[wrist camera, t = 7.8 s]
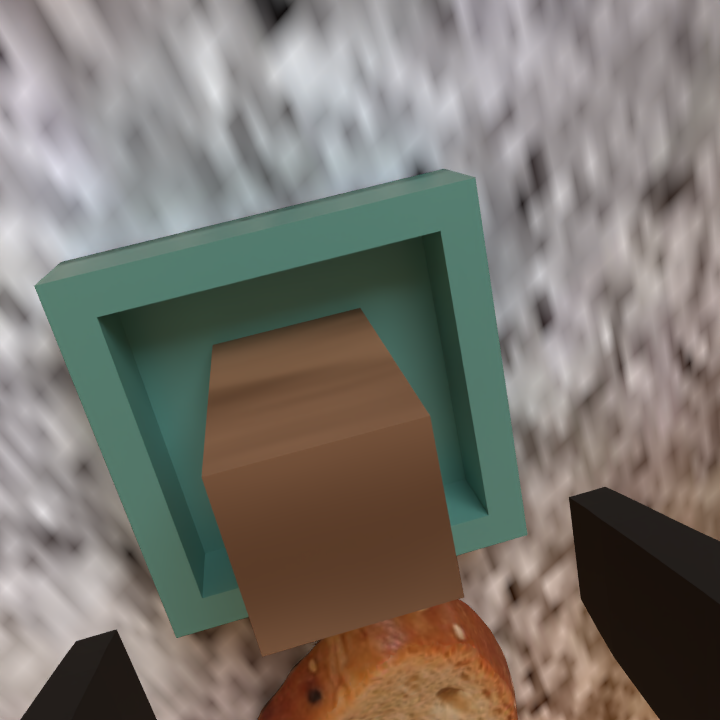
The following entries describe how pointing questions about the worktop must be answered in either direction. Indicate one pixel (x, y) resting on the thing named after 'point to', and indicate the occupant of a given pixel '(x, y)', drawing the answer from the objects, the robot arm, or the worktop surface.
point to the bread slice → (402, 672)
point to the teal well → (272, 311)
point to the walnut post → (325, 482)
